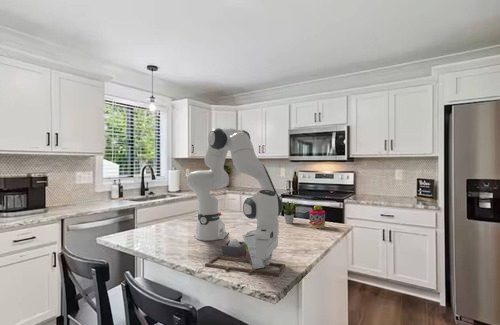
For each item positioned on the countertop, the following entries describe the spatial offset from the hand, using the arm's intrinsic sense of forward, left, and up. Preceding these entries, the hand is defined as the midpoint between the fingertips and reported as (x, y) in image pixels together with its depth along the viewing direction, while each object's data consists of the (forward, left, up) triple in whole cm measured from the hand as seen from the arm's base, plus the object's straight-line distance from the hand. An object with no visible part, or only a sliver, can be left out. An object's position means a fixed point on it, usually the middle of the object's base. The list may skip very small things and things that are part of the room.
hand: (268, 263), depth 116 cm
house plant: (-86, -10, -3) cm, 87 cm away
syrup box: (0, -3, -2) cm, 4 cm away
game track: (0, -10, -2) cm, 11 cm away
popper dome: (-14, -21, -1) cm, 25 cm away
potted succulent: (-82, +10, -3) cm, 82 cm away
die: (-13, -11, -2) cm, 17 cm away
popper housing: (-14, -21, -2) cm, 25 cm away
